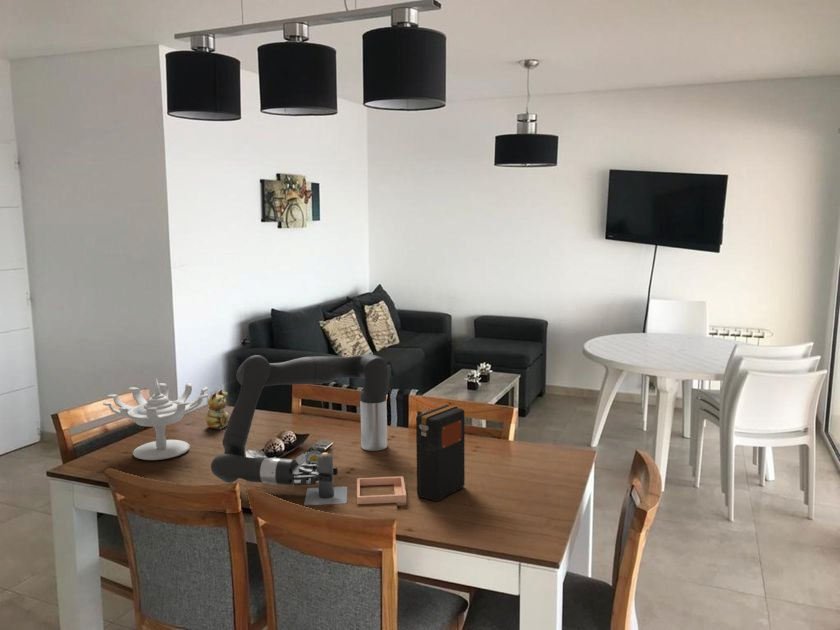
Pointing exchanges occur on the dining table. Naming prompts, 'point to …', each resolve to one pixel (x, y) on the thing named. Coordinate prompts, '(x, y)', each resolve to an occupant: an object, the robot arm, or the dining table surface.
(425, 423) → the black case
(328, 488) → the battery
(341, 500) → the pad
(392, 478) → the bin
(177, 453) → the candelabra
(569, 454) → the dining table surface
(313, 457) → the pocket watch
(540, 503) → the dining table surface
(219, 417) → the decorative figurine
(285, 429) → the dining table surface
